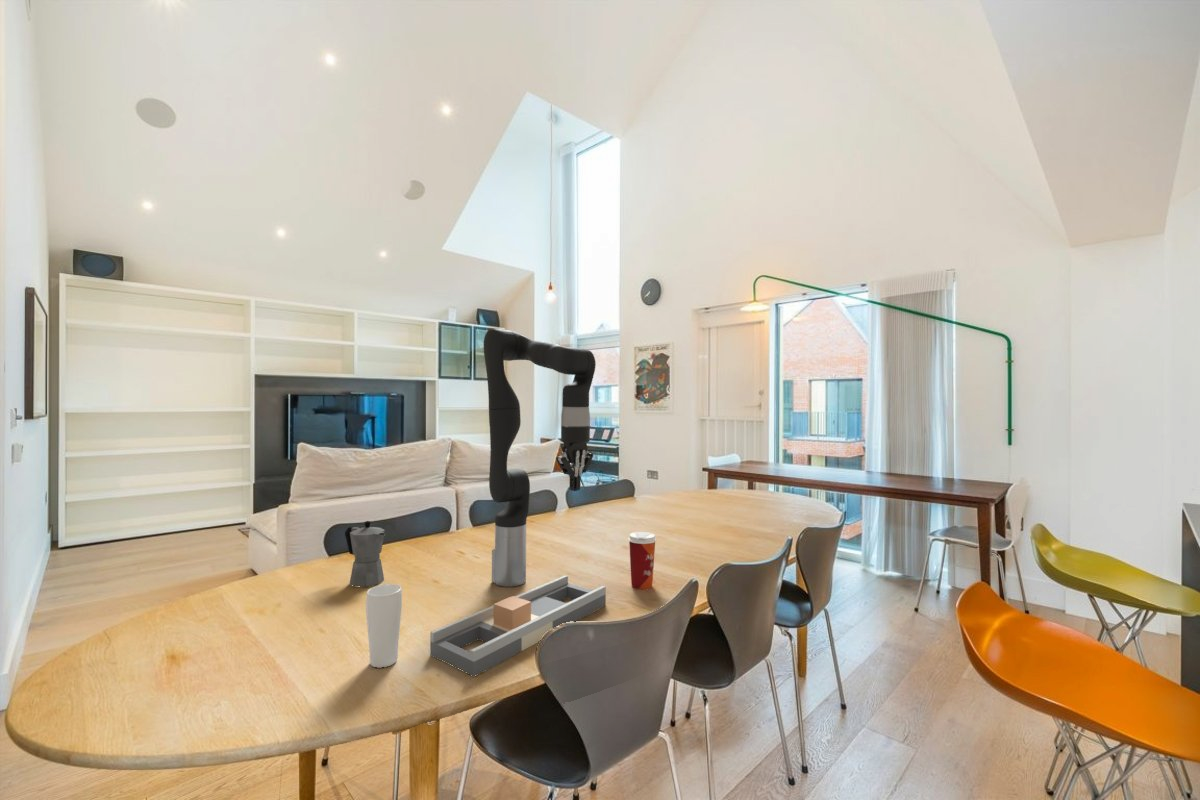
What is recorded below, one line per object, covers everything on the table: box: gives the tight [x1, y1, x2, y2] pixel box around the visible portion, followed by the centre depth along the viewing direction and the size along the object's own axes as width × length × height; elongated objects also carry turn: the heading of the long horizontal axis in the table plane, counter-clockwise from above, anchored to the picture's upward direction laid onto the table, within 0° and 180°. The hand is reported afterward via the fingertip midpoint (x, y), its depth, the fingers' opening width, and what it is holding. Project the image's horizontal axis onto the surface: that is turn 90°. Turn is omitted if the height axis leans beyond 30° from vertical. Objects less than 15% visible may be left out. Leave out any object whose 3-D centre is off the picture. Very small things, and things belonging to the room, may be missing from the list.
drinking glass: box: [365, 583, 403, 669], centre depth 106 cm, size 7×7×15 cm
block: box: [493, 595, 531, 630], centre depth 118 cm, size 6×6×4 cm
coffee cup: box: [627, 531, 657, 591], centre depth 150 cm, size 8×8×15 cm
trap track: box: [429, 575, 607, 677], centre depth 122 cm, size 44×14×5 cm, turn 144°
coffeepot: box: [344, 520, 386, 588], centre depth 152 cm, size 15×9×18 cm, turn 67°
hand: (574, 490), depth 135 cm, fingers closed
